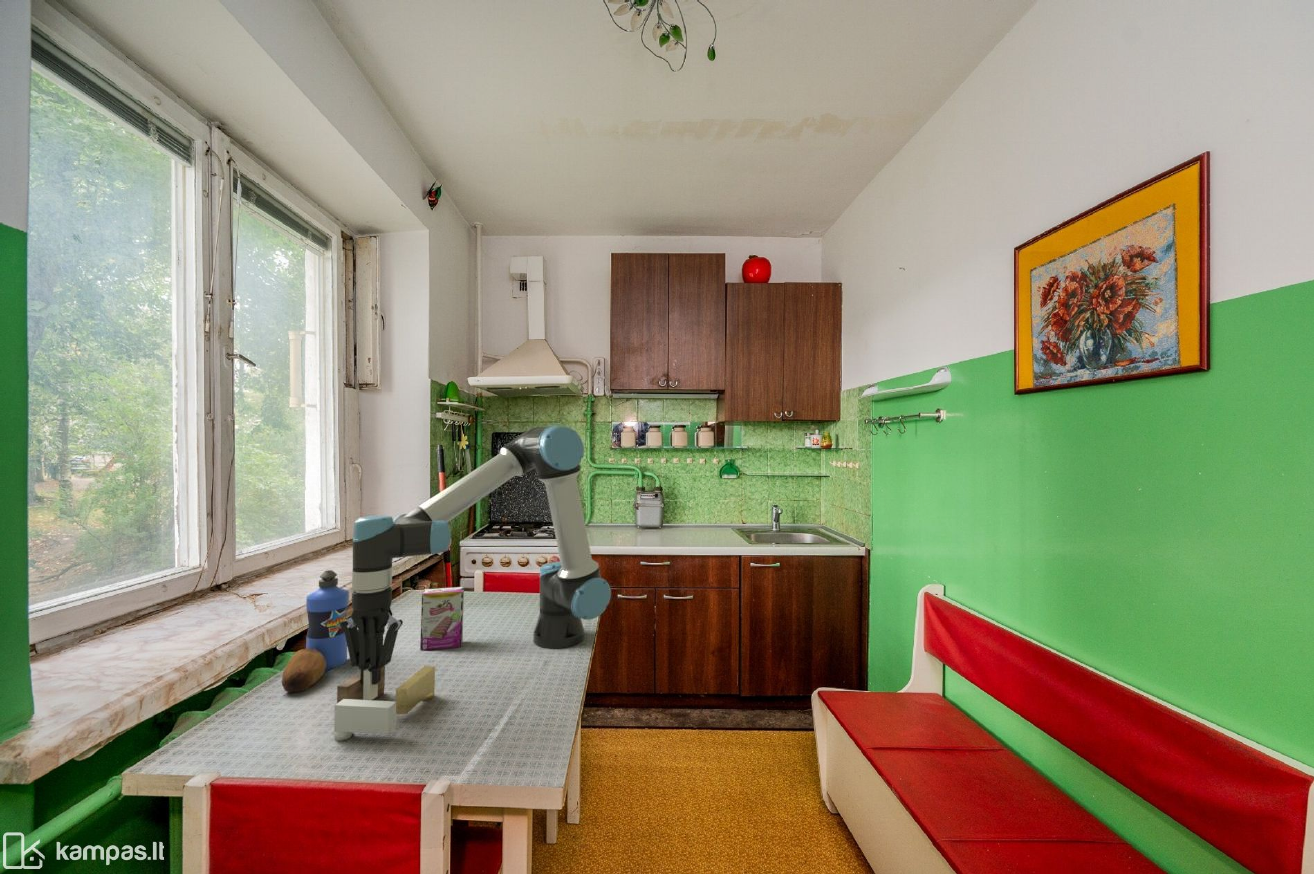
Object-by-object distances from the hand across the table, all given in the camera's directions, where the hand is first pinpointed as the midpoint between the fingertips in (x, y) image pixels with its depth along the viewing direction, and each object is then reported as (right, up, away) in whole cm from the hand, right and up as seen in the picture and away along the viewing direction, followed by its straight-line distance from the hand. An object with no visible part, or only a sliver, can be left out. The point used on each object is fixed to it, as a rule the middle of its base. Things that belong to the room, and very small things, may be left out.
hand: (370, 698), depth 108 cm
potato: (-23, -4, +12) cm, 26 cm away
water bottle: (-25, -4, +23) cm, 34 cm away
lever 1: (-3, -3, +2) cm, 4 cm away
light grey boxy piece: (+5, -2, -10) cm, 12 cm away
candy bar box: (-1, -5, +37) cm, 38 cm away
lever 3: (+9, -3, +1) cm, 10 cm away
